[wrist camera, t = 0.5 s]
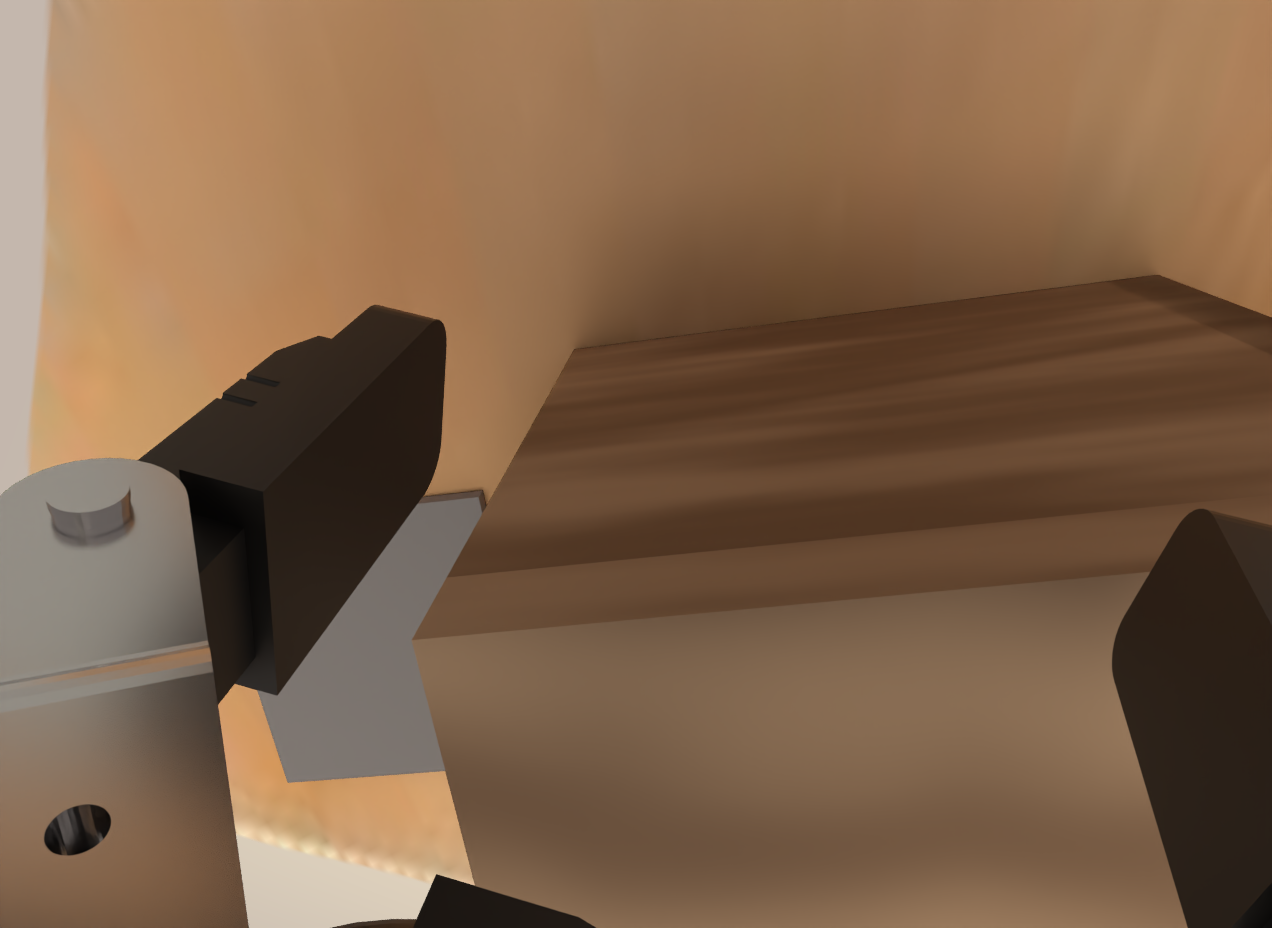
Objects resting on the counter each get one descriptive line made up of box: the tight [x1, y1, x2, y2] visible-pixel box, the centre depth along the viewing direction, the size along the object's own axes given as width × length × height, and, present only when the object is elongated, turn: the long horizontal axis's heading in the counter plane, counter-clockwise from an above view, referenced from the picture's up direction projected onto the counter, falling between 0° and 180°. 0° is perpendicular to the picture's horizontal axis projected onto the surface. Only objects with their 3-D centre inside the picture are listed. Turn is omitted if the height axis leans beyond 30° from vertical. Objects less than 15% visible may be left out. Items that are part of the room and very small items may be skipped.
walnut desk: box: [412, 275, 1272, 928], centre depth 25 cm, size 21×18×18 cm
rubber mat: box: [257, 490, 486, 783], centre depth 35 cm, size 11×10×1 cm
